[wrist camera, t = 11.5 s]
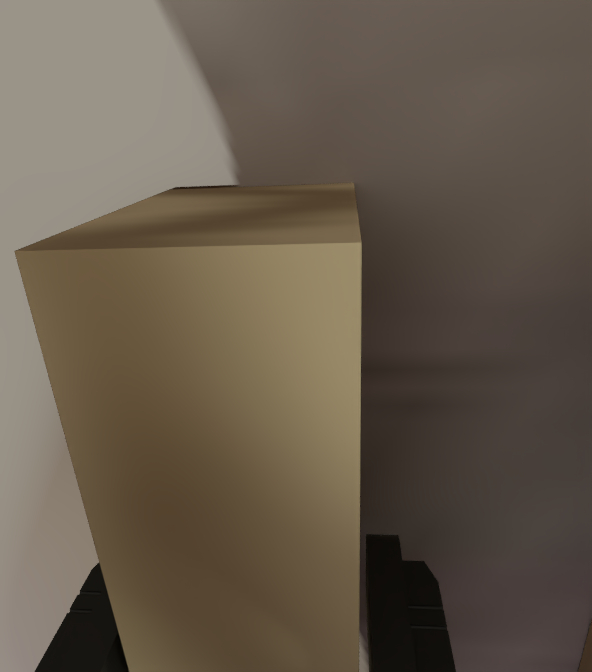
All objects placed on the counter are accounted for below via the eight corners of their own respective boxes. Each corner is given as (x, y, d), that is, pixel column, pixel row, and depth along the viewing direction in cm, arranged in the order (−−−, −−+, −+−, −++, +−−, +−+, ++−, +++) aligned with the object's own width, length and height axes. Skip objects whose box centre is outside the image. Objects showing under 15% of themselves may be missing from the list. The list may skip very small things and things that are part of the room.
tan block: (353, 180, 11) (361, 242, 5) (353, 663, 17) (357, 918, 12) (175, 187, 11) (14, 250, 6) (239, 656, 18) (191, 899, 12)
